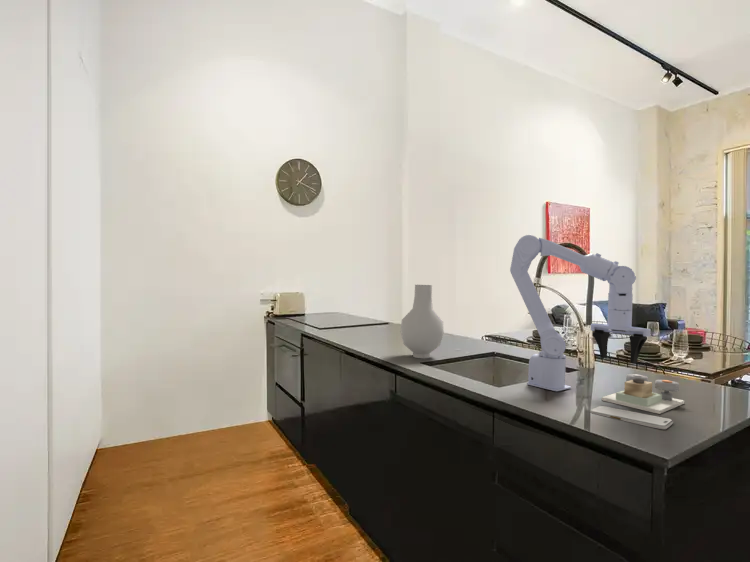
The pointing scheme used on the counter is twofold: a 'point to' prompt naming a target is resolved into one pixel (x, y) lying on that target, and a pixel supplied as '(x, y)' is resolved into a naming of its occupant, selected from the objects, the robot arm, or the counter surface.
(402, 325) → the vase
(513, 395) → the counter surface
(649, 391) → the tan wooden block
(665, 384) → the grey rounded cap
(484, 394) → the counter surface
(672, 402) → the chassis
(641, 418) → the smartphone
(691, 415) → the counter surface
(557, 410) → the counter surface
